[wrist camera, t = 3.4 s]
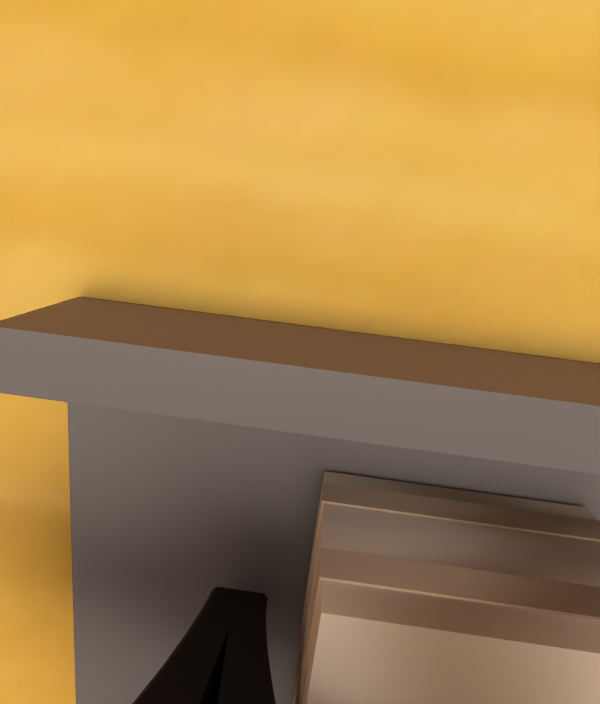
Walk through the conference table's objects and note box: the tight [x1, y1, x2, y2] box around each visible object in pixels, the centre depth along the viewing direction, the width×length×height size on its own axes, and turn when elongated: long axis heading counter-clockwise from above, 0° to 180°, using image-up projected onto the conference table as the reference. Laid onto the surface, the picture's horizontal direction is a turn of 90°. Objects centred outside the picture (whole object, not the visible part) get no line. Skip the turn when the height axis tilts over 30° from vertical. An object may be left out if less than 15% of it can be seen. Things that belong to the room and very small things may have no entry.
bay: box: [0, 297, 600, 704], centre depth 11 cm, size 21×14×3 cm
